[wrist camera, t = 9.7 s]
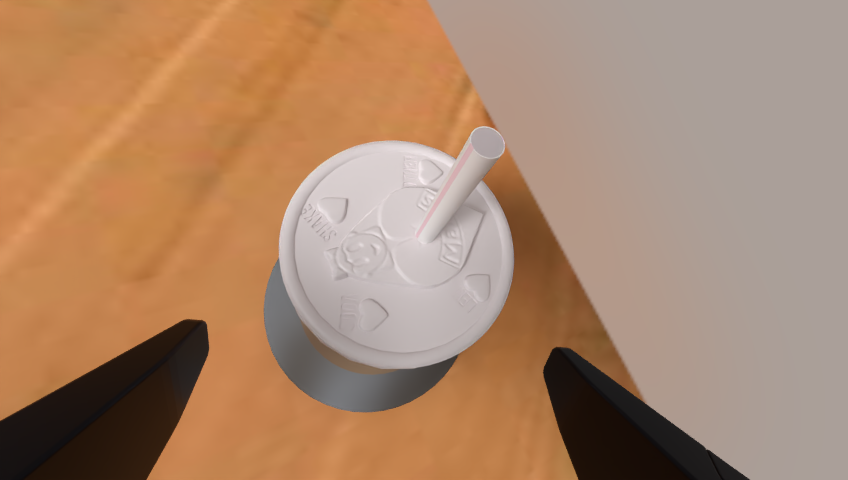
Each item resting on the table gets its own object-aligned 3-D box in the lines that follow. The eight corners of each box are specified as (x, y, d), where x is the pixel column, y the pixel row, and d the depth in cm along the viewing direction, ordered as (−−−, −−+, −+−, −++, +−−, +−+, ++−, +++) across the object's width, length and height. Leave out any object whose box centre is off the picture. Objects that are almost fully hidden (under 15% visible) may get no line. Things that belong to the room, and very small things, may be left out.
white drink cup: (452, 330, 18) (722, 283, 5) (336, 381, 16) (285, 520, 3) (409, 224, 19) (535, -27, 6) (297, 259, 17) (148, -2, 4)
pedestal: (494, 290, 23) (519, 280, 20) (384, 454, 19) (392, 476, 15) (362, 182, 23) (364, 155, 20) (222, 317, 19) (197, 311, 16)
